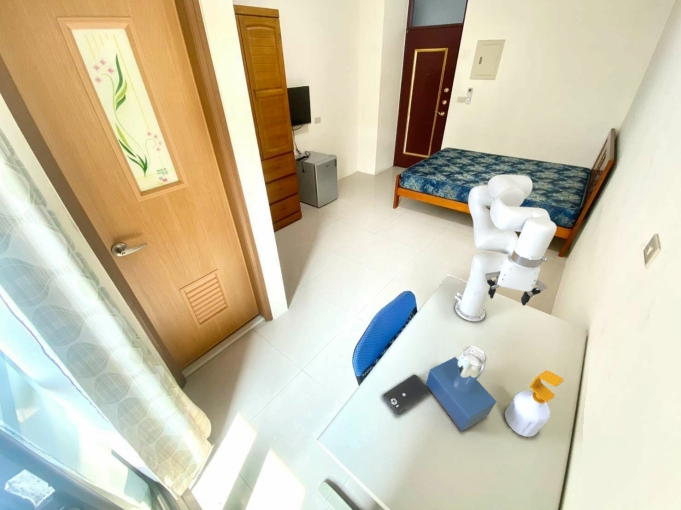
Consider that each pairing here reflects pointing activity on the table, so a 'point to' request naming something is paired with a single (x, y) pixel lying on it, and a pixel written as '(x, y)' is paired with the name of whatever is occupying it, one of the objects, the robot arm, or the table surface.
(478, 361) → the beer glass
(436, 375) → the blue rectangular box
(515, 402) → the soap bottle
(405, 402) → the smartphone
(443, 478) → the table surface
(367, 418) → the table surface
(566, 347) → the table surface
